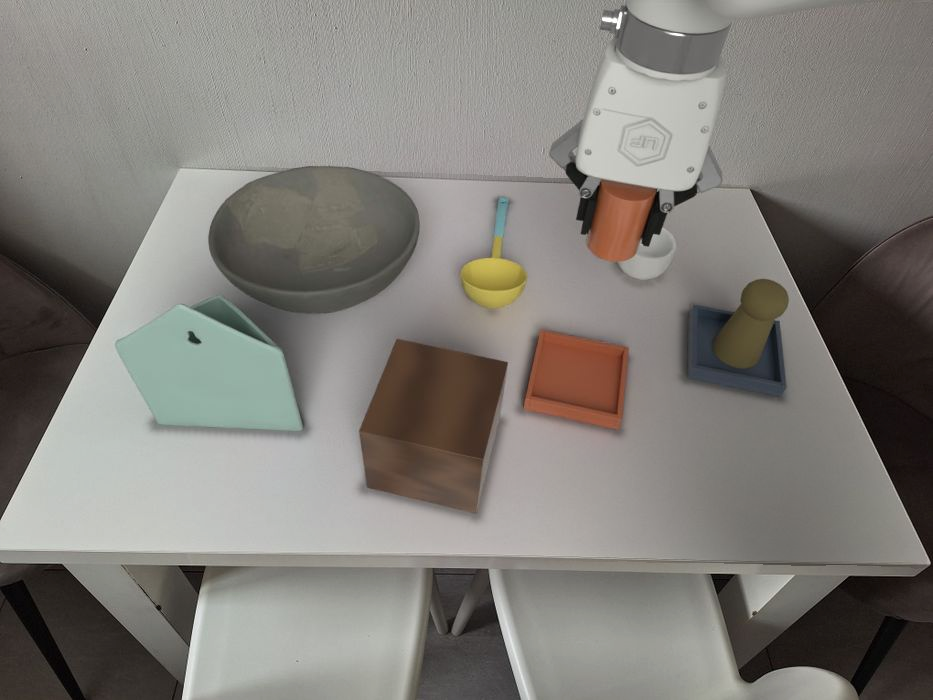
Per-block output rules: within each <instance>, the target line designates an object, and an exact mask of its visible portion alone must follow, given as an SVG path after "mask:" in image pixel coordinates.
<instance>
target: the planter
mask: <svg viewBox="0 0 933 700" xmlns="http://www.w3.org/2000/svg"><path fill="white" fill-rule="evenodd" d="M114 347H115V349H116V351H117V353H118V355H119V358H120V360H121V362H122V363H123V365H124V366H125V368H126V371H127V372H128V374H129V375H130V377H131V379H132V381H133V383H134V384H135V386H136V388H137V390H138V391H139V393H140V395H141V396H142V398H143V400H144V402H145V404H146V405H147V407H148V408H149V411H150V412H151V414H152V417H153V418H154V420H155V421H156V423H157V424H159V425H161V426H162V425H165V426H182V427H183V426H185V427H204V428H205V427H206V428H223V429H225V428H227V429H245V430H246V429H249V430H268V431H288V432H289V431H291V432H302V431H304V424H303V421H302V417H301V413H300V410H299V404H298V402H297V398H296V394H295V389H294V386H293V383H292V379H291V374H290V372H289V367H288V364H287V361H286V357H285V354H284V350H283V349H282V348H281V347H280V346H279V345H278V344H277V343H276V342H275V341H274V340H272V339H271V337H269V336H268V335H267V334H266V333H265V332H264V331H263V330H262V329H261V328H260V327H259V326H258V325H257V324H255V323H254V322H253V320H252V319H250V318H249V317H248V316H247V315H246V314H245V313H244V312H243V311H242V310H241V309H240V308H239V307H238V306H237V305H235V304H234V303H233V302H232V301H230V300H229V299H228V298H226V297H225V296H224V295H222V294H217V295H214V296H212V297H210V298H207V299H205V300H203V301H200V302H198V303H196V304H193V305H191V306H189V305H187V304H184V303H177V304H176V305H174V306H172V307H171V308H169V309H168V310H167V311H165V312H164V313H162V314H161V315H159V316H157V317H156V318H153V320H151V321H149V322H147V323H146V324H144V325H142V326H141V327H139V328H138V329H136V330H134V331H133V332H131V333H129V334H127V335H126V336H123V337H121V338H119V339H117V340H116V341H115V343H114Z"/></svg>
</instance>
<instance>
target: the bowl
mask: <svg viewBox="0 0 933 700" xmlns="http://www.w3.org/2000/svg"><path fill="white" fill-rule="evenodd" d="M420 223H421V221H420V214H419V211H418V208H417V206H416V204H415V202H414V200H413V199H412V198H411V196H410V195H409V194H408V193H407V192H406V191H405V190H404V189H402V188H401V187H400V186H399V185H398V184H395V183H394V182H392V181H391V180H389V179H387V178H385V177H383V176H381V175H378V174H376V173H373V172H370V171H368V170H364V169H360V168H355V167H350V166H335V165H334V166H333V165H307V166H300V167H294V168H291V169H287V170H282V171H279V172H275V173H271V174H269V175H264V176H262V177H260V178H257V179H254V180H252V181H249V182H247V183H245V184H244V185H243V186H242V187H240V188H239V189H238V190H236V191H235V192H233V193H232V194H231V195H229V196H228V197H227V198H225V200H224V201H223V203H222V204H220V206H219V208H218V209H217V210H216V213H215V214H214V215H213V218H212V220H211V222H210V226H209V229H208V230H209V231H208V236H207V239H208V241H207V242H208V250H209V253H210V257H211V258H212V261H213V263H214V264H215V266H216V267H217V269H218V270H219V272H220V273H221V274H222V275H223V277H224V278H225V279H227V281H228V282H230V283H231V285H233V286H234V287H235V288H236V289H238V290H239V291H241V293H244V294H246V295H247V296H249V297H251V298H252V299H254V300H256V301H259V302H261V303H262V304H265V305H267V306H269V307H272V308H276V309H278V310H283V311H286V312H291V313H298V314H329V313H335V312H340V311H343V310H346V309H349V308H352V307H355V306H357V305H359V304H361V303H364V302H365V301H366V302H367V301H368V300H370V299H372V298H373V297H375V296H377V295H378V294H380V293H381V292H382V291H384V290H385V289H387V288H388V287H389V286H390V285H391V284H392V283H393V282H394V281H395V280H396V279H397V277H398V276H399V275H400V274H401V273H402V272H403V270H404V269H405V267H406V266H407V264H408V263H409V261H410V260H411V258H412V256H413V254H414V252H415V250H416V246H417V244H418V240H419V236H420V227H421V225H420Z"/></svg>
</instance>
